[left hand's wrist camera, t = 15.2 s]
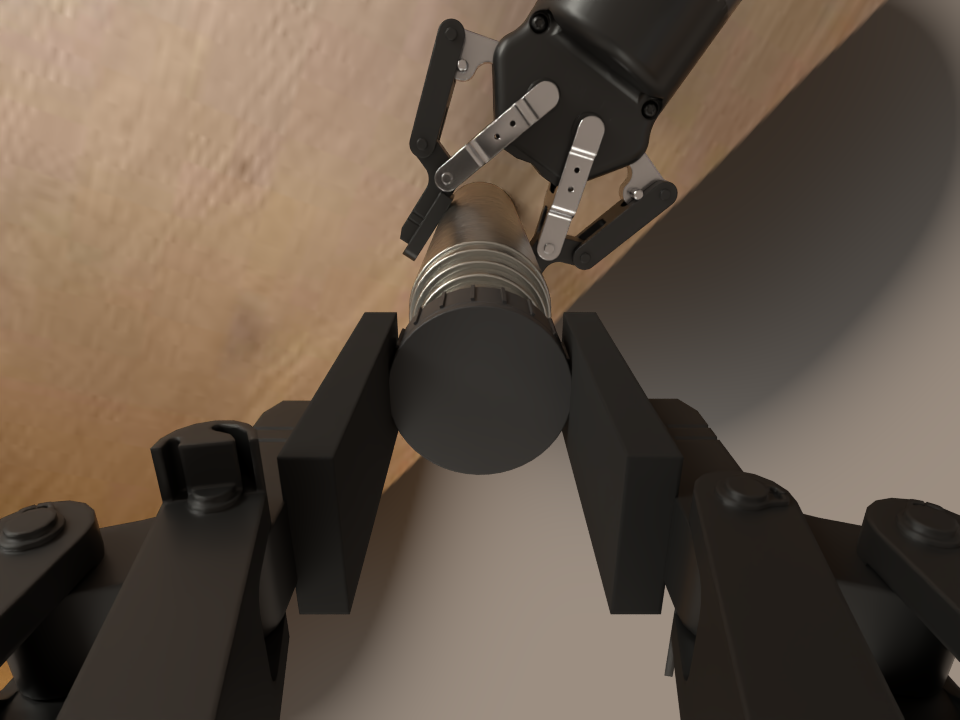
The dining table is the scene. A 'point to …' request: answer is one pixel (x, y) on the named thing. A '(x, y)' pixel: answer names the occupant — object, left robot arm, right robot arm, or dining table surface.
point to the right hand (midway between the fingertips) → (452, 280)
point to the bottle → (480, 251)
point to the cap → (480, 381)
